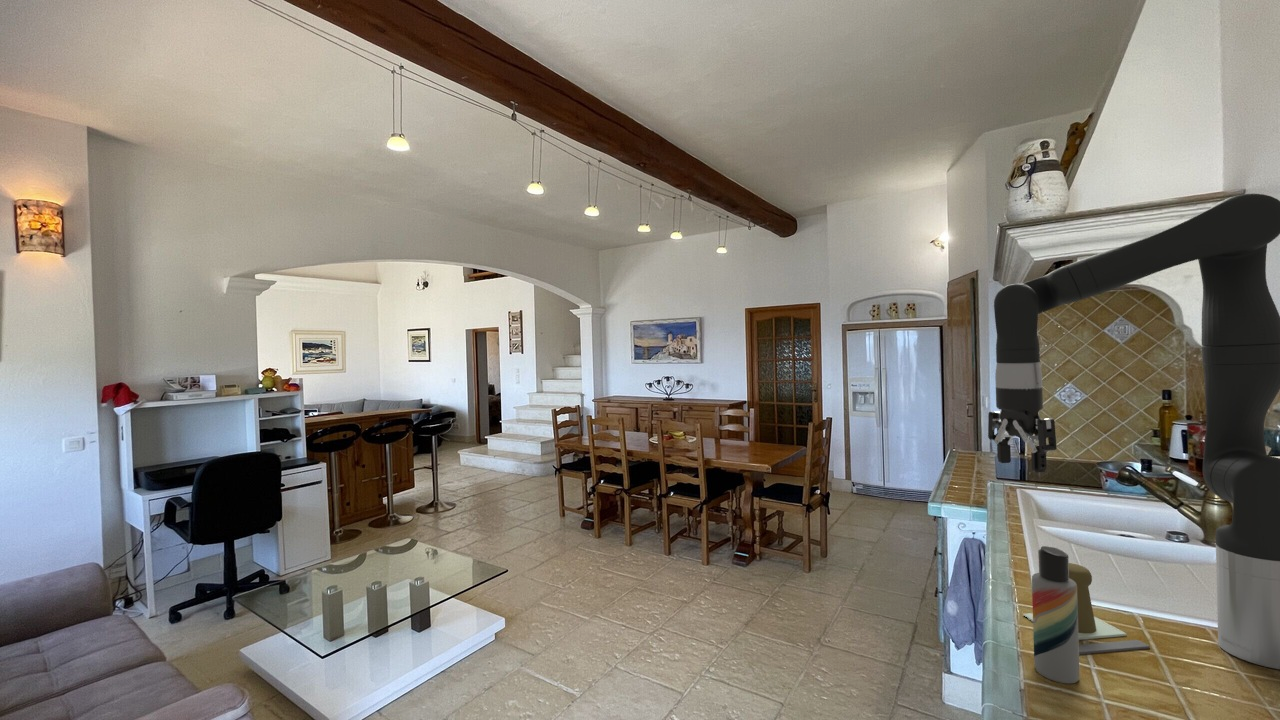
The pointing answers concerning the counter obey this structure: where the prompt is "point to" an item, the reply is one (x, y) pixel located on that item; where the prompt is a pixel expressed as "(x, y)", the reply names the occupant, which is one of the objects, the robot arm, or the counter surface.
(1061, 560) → the lotion bottle
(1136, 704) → the counter surface
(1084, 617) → the cork
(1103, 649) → the charcoal line
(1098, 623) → the mat
